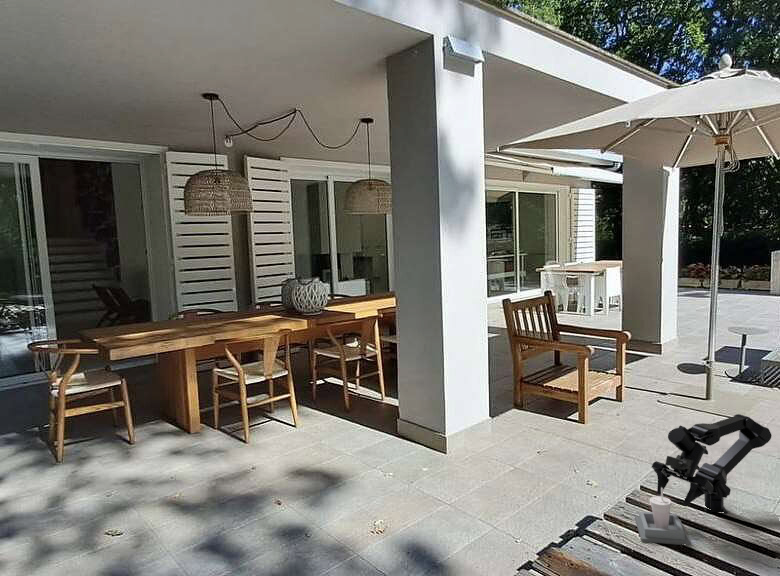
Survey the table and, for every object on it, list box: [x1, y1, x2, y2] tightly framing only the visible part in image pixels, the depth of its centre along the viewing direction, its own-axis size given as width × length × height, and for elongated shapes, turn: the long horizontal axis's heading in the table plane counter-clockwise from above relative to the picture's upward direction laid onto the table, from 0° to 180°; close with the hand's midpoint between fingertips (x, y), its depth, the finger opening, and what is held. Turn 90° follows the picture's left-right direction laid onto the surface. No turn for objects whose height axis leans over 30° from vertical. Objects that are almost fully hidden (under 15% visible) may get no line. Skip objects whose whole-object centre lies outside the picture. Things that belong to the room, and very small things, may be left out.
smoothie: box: [649, 488, 672, 529], centre depth 172 cm, size 6×6×14 cm
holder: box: [634, 510, 691, 546], centre depth 172 cm, size 14×14×4 cm
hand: (671, 499), depth 174 cm, fingers open, 9 cm apart
